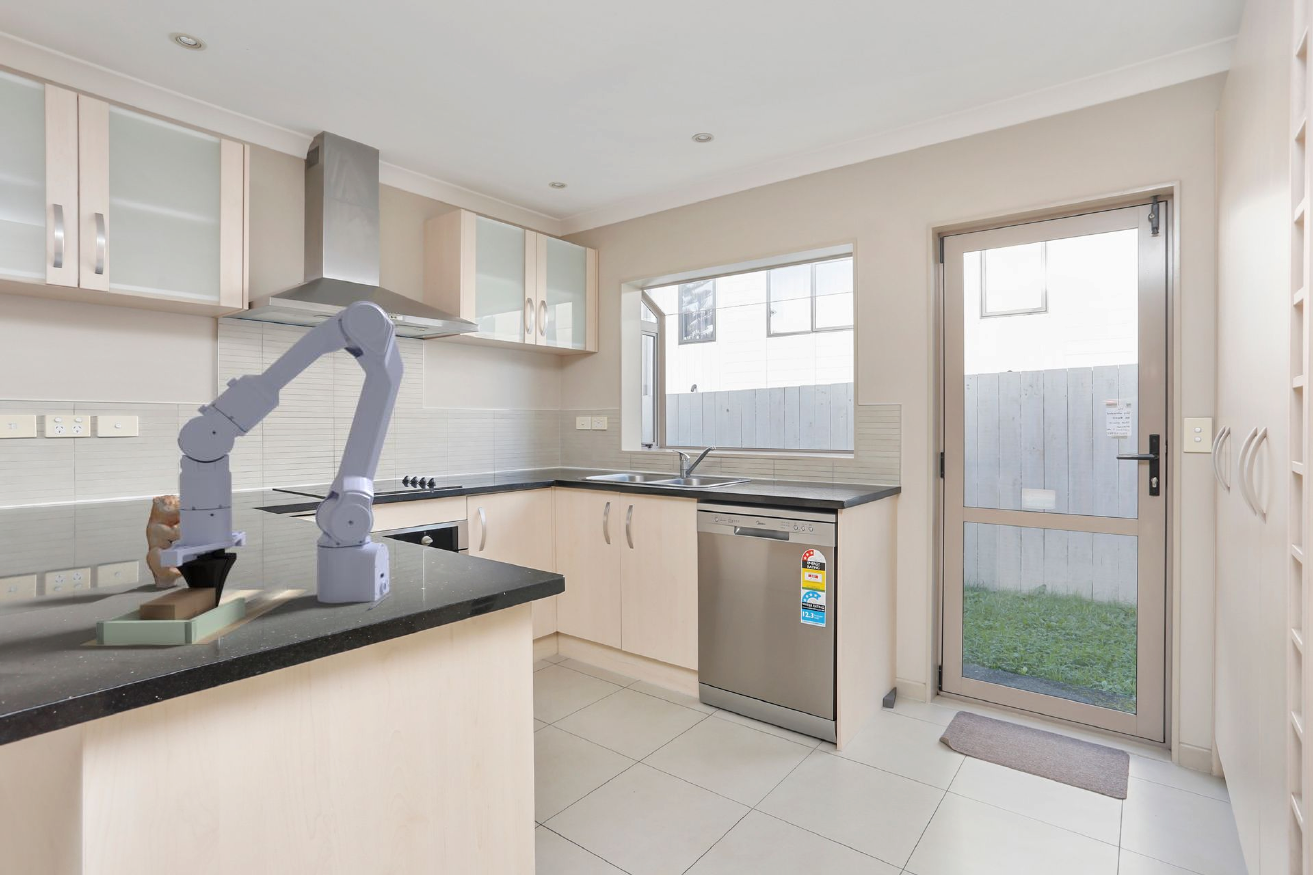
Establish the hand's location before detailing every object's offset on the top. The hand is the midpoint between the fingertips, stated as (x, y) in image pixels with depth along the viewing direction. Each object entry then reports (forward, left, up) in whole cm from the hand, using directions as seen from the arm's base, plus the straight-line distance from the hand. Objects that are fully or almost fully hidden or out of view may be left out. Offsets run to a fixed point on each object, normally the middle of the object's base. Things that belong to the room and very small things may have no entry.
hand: (207, 609), depth 88 cm
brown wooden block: (0, +3, -1) cm, 4 cm away
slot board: (0, -1, -2) cm, 2 cm away
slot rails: (0, -7, -1) cm, 7 cm away
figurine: (+16, -17, -2) cm, 24 cm away
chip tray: (0, +6, -1) cm, 6 cm away
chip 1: (0, +7, -1) cm, 8 cm away
